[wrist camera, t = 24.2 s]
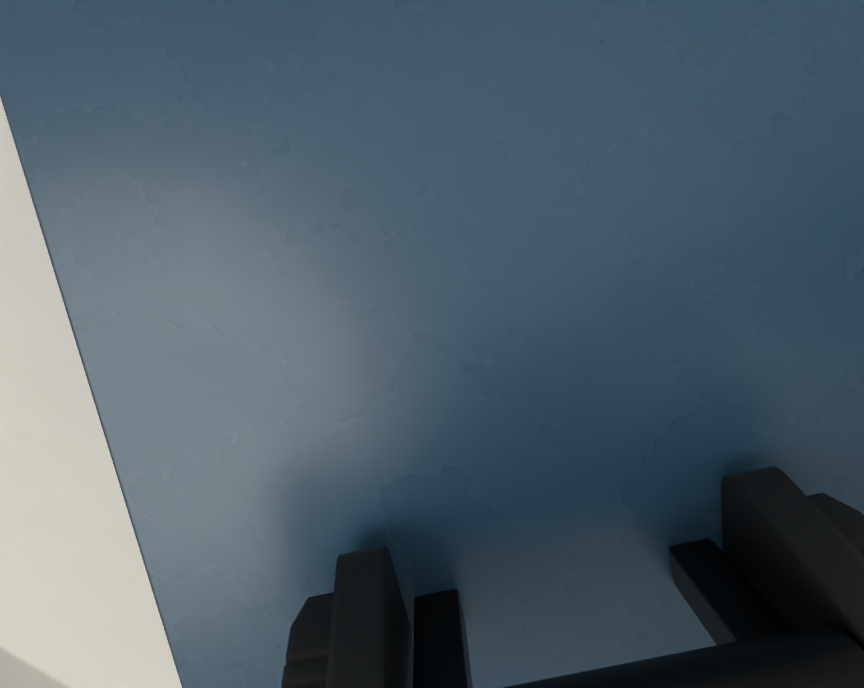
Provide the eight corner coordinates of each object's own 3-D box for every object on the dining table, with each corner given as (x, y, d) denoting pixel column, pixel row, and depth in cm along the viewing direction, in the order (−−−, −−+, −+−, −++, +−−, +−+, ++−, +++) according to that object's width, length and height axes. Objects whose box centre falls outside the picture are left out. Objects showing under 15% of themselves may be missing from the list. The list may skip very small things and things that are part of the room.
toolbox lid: (938, 609, 12) (1331, 905, 7) (224, 750, 12) (82, 1141, 7) (838, -629, 9) (1430, -1828, 4) (-123, -404, 9) (-842, -1232, 4)
